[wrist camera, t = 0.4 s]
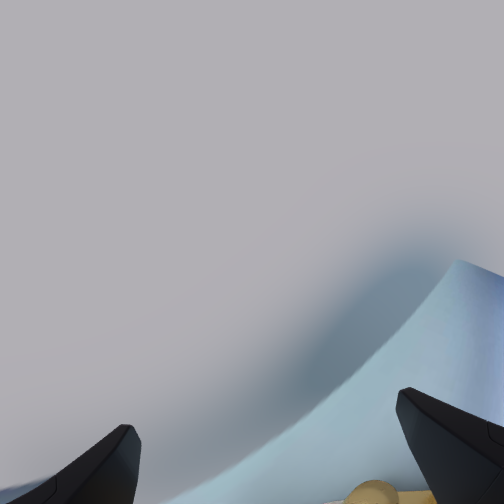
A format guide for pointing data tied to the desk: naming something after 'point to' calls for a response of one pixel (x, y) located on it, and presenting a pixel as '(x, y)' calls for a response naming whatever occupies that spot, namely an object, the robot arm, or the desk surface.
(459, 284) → the desk surface
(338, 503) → the plate
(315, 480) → the desk surface
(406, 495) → the brass lever
